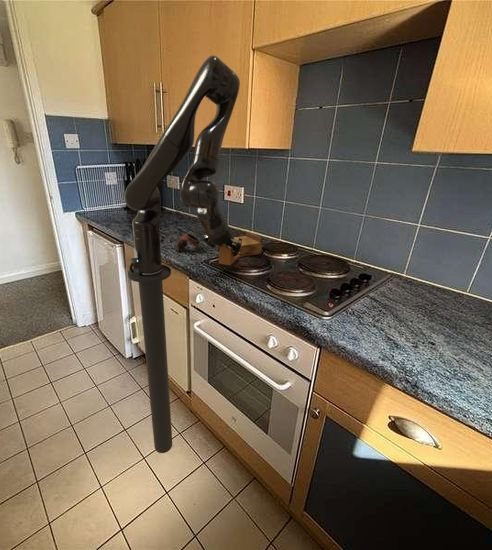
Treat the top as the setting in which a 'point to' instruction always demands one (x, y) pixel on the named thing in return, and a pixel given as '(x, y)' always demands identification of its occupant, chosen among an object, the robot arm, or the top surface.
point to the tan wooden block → (250, 244)
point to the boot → (227, 258)
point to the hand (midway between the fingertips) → (229, 252)
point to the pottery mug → (184, 241)
